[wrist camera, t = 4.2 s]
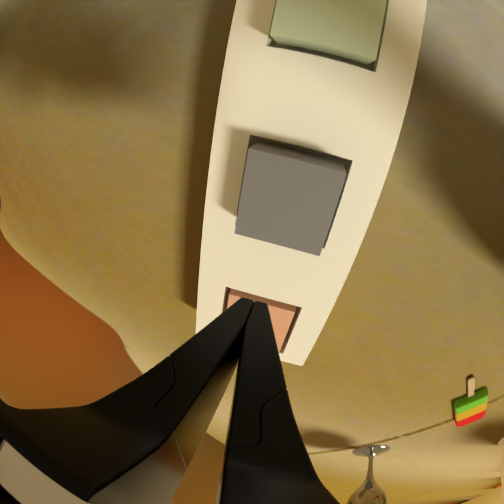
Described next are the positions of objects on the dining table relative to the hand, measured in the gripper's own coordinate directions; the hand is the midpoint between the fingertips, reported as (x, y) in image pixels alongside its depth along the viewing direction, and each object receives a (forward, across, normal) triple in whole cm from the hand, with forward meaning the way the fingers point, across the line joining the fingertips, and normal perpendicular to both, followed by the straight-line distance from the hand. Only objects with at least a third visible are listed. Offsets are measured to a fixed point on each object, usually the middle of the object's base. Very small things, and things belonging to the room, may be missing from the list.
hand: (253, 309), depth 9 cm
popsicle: (+13, -32, +22) cm, 41 cm away
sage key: (+10, -1, -12) cm, 15 cm away
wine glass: (+12, -25, +42) cm, 51 cm away
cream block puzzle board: (+12, 0, 0) cm, 12 cm away
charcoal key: (+10, 0, 0) cm, 10 cm away
